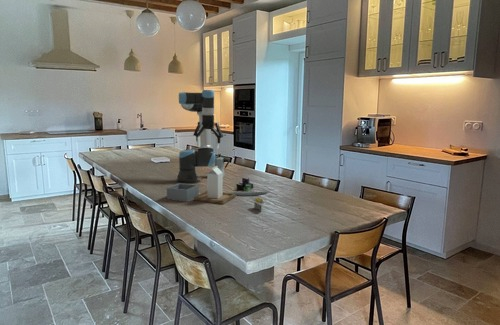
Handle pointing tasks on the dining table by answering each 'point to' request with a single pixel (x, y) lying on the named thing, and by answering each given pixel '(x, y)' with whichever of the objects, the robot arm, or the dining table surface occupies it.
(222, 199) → the tray
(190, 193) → the bin
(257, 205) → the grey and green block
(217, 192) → the milk carton
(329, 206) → the dining table surface
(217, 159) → the coffee maker
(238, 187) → the mineral sample
